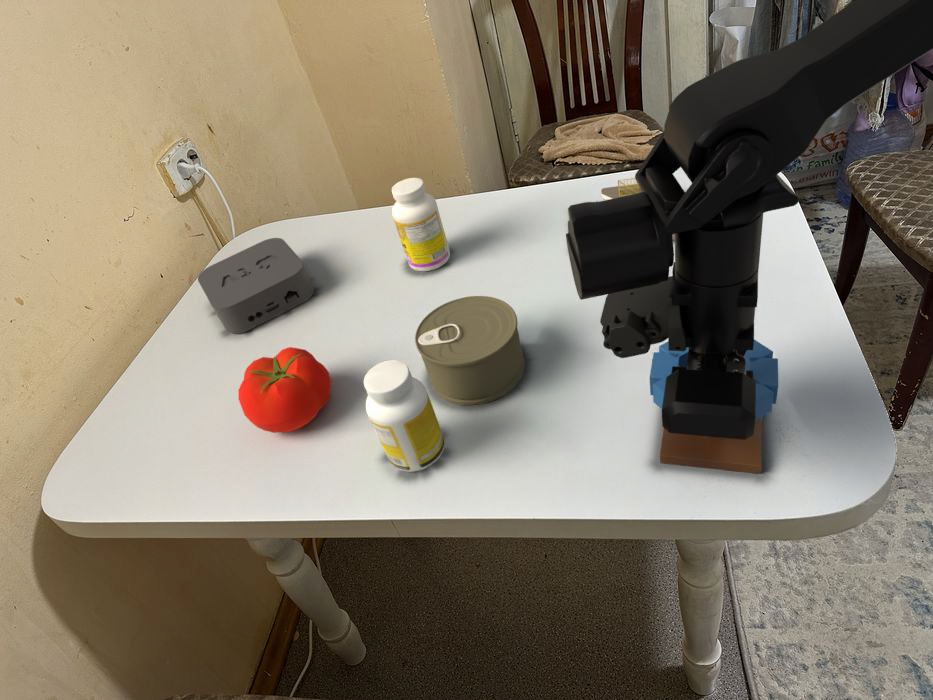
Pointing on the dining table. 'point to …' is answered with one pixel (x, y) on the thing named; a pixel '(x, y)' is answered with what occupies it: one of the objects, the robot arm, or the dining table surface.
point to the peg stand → (714, 451)
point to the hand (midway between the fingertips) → (711, 410)
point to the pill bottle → (403, 416)
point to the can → (471, 349)
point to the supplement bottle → (419, 225)
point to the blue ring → (755, 361)
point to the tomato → (284, 390)
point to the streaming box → (256, 284)
